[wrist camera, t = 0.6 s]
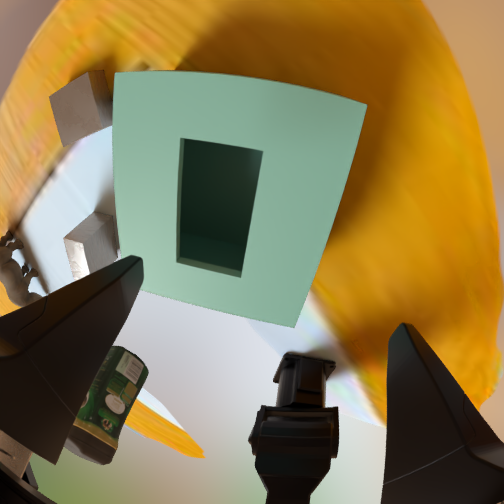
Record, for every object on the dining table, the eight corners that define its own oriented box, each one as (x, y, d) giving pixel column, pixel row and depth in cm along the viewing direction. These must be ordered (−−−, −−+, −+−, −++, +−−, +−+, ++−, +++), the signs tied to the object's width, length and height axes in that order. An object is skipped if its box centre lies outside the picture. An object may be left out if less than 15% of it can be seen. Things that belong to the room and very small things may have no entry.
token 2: (117, 257, 28) (93, 287, 24) (100, 252, 28) (74, 280, 24) (112, 215, 25) (82, 243, 21) (93, 211, 25) (63, 238, 21)
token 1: (119, 122, 20) (102, 128, 18) (80, 139, 21) (63, 147, 19) (105, 69, 17) (87, 71, 15) (66, 92, 19) (49, 96, 17)
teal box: (298, 262, 24) (294, 328, 18) (165, 232, 25) (125, 285, 19) (343, 96, 16) (367, 104, 10) (173, 70, 17) (114, 72, 11)
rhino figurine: (45, 303, 37) (25, 328, 32) (5, 231, 30) (-21, 254, 25) (58, 304, 36) (38, 331, 31) (16, 228, 29) (-12, 252, 24)
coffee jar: (122, 374, 44) (83, 460, 29) (92, 345, 40) (43, 434, 25) (159, 372, 40) (117, 475, 25) (125, 340, 37) (70, 449, 22)
